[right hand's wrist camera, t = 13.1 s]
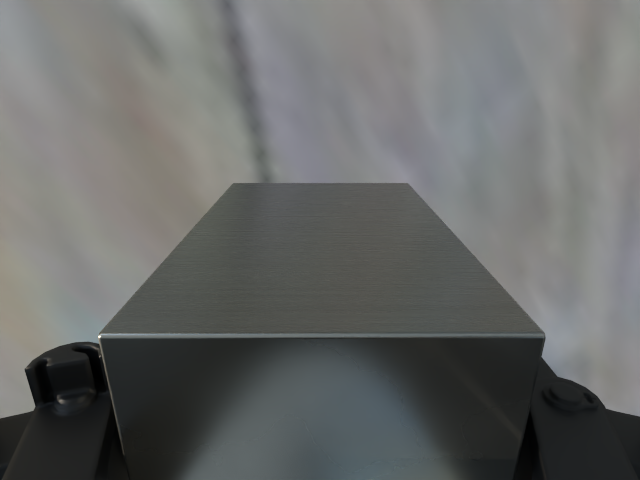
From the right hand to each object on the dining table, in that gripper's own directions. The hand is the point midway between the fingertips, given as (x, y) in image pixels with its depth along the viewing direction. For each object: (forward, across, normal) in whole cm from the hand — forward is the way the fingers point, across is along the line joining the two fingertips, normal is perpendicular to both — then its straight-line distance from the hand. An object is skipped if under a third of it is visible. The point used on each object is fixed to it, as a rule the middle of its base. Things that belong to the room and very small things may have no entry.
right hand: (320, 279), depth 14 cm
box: (+1, 0, -8) cm, 9 cm away
